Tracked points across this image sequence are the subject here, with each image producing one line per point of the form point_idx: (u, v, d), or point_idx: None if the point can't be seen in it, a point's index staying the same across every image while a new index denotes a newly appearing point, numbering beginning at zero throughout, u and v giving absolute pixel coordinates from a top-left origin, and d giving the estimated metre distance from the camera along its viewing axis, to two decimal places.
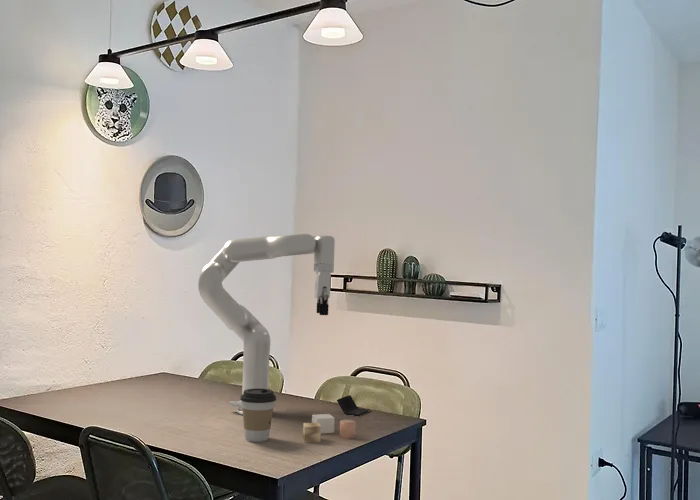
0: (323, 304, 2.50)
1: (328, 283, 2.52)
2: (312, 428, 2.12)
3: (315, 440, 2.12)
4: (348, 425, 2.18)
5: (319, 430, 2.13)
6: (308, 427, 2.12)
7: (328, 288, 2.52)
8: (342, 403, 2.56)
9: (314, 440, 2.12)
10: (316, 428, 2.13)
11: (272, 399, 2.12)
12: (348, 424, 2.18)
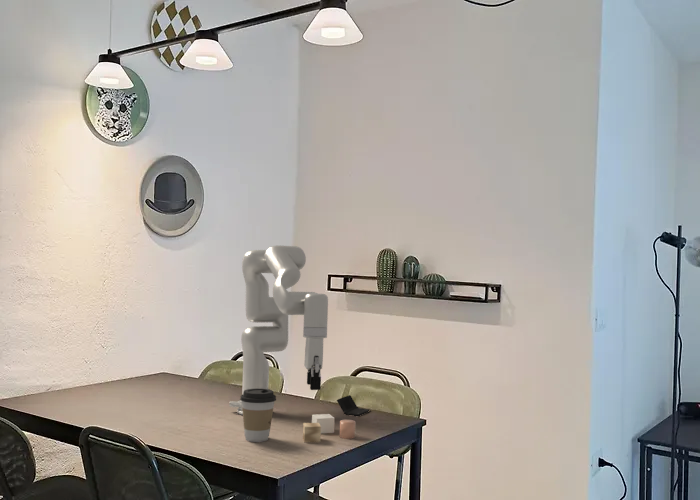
0: (314, 377, 2.09)
1: (321, 351, 2.11)
2: (312, 428, 2.12)
3: (315, 440, 2.12)
4: (348, 425, 2.18)
5: (319, 430, 2.13)
6: (308, 427, 2.12)
7: (320, 357, 2.11)
8: (342, 403, 2.56)
9: (314, 440, 2.12)
10: (316, 428, 2.13)
11: (272, 399, 2.12)
12: (348, 424, 2.18)
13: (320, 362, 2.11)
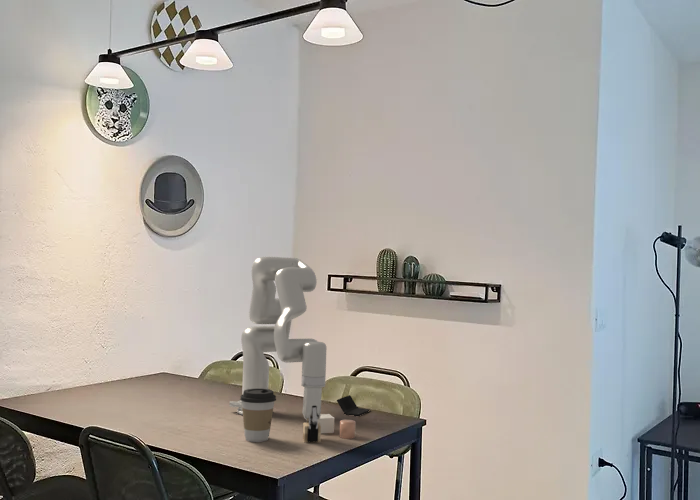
0: (312, 429, 2.11)
1: (319, 400, 2.11)
2: None
3: None
4: (348, 425, 2.18)
5: (319, 430, 2.13)
6: (308, 427, 2.12)
7: (318, 407, 2.10)
8: (342, 403, 2.56)
9: None
10: None
11: (272, 399, 2.12)
12: (348, 424, 2.18)
13: (318, 412, 2.10)
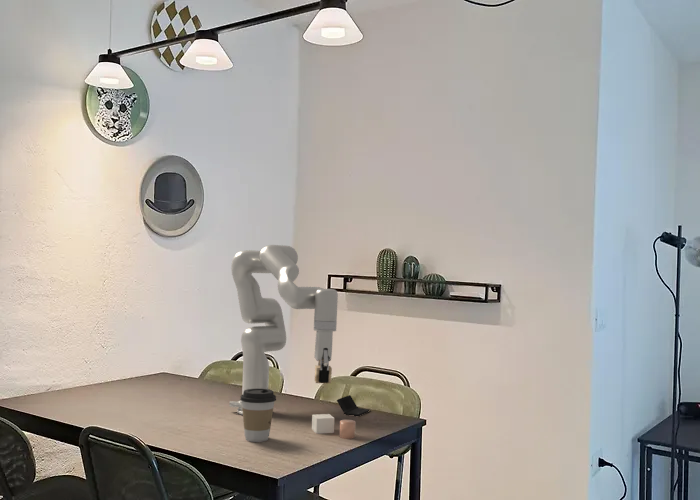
0: (323, 371, 2.23)
1: (330, 343, 2.23)
2: None
3: None
4: (348, 425, 2.18)
5: (330, 371, 2.25)
6: None
7: (329, 350, 2.22)
8: (342, 403, 2.56)
9: None
10: None
11: (272, 399, 2.12)
12: (348, 424, 2.18)
13: (329, 354, 2.22)
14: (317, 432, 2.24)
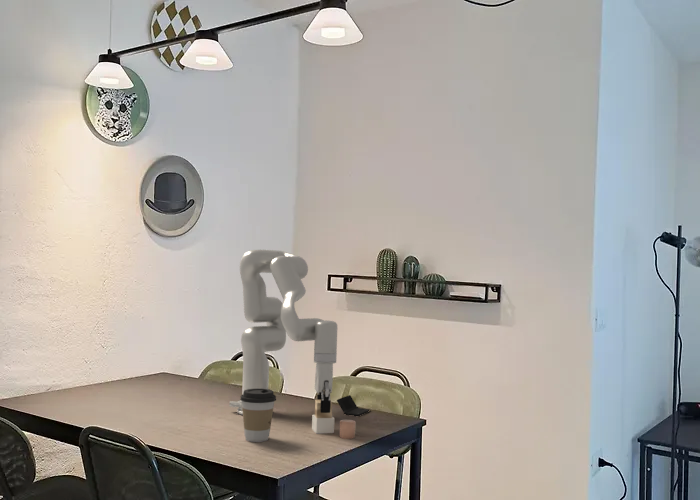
0: (324, 401, 2.22)
1: (330, 376, 2.24)
2: None
3: (327, 415, 2.25)
4: (348, 425, 2.18)
5: (330, 406, 2.25)
6: (320, 403, 2.25)
7: (330, 382, 2.23)
8: (342, 403, 2.56)
9: (326, 415, 2.25)
10: None
11: (272, 399, 2.12)
12: (348, 424, 2.18)
13: (330, 386, 2.23)
14: (317, 432, 2.24)
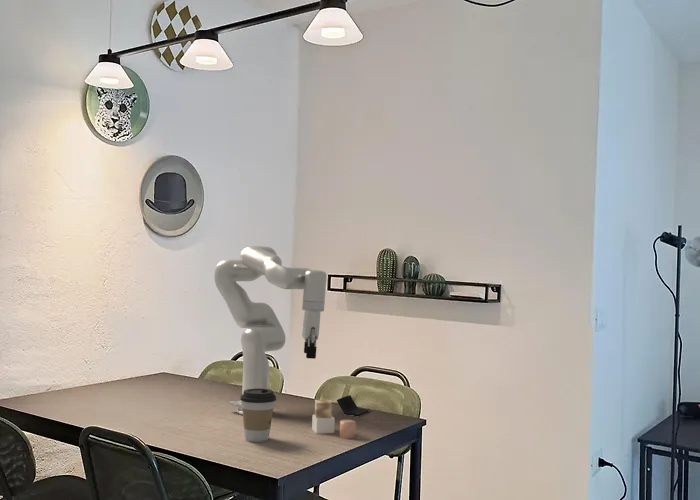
0: (310, 347, 2.29)
1: (317, 323, 2.30)
2: (323, 404, 2.25)
3: (326, 415, 2.25)
4: (348, 425, 2.18)
5: (330, 406, 2.25)
6: (320, 403, 2.25)
7: (317, 329, 2.30)
8: (342, 403, 2.56)
9: (325, 415, 2.25)
10: (327, 404, 2.25)
11: (272, 399, 2.12)
12: (348, 424, 2.18)
13: (316, 333, 2.30)
14: (317, 432, 2.24)
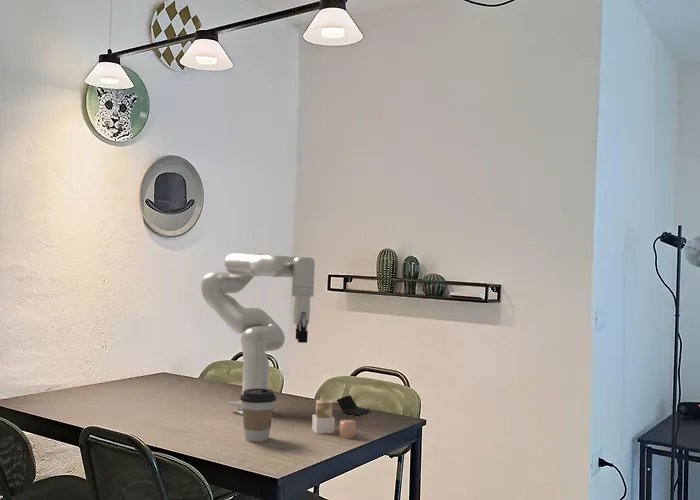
0: (302, 331, 2.34)
1: (307, 308, 2.36)
2: (324, 404, 2.25)
3: (327, 416, 2.25)
4: (348, 425, 2.18)
5: (331, 406, 2.25)
6: (320, 403, 2.25)
7: (307, 314, 2.35)
8: (342, 403, 2.56)
9: (326, 416, 2.25)
10: (328, 404, 2.25)
11: (272, 399, 2.12)
12: (348, 424, 2.18)
13: (307, 318, 2.35)
14: (317, 432, 2.24)
